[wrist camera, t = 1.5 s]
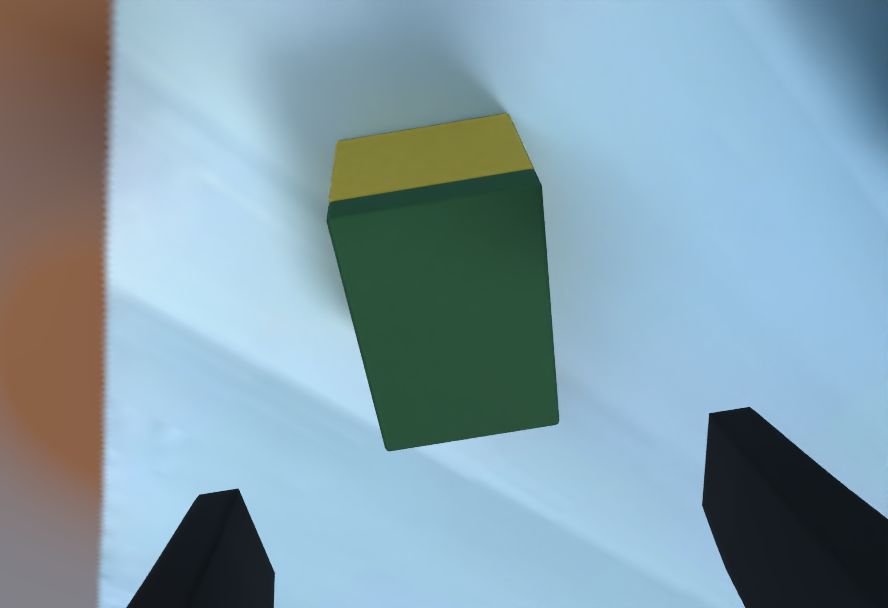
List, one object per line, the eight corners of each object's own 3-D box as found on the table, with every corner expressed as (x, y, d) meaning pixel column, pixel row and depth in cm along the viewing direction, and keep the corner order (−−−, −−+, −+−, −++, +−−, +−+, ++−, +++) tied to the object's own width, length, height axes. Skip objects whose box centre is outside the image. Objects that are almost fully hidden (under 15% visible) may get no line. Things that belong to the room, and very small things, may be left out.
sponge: (508, 111, 17) (542, 183, 13) (529, 325, 20) (560, 426, 17) (335, 140, 17) (325, 218, 13) (384, 348, 20) (385, 453, 17)
